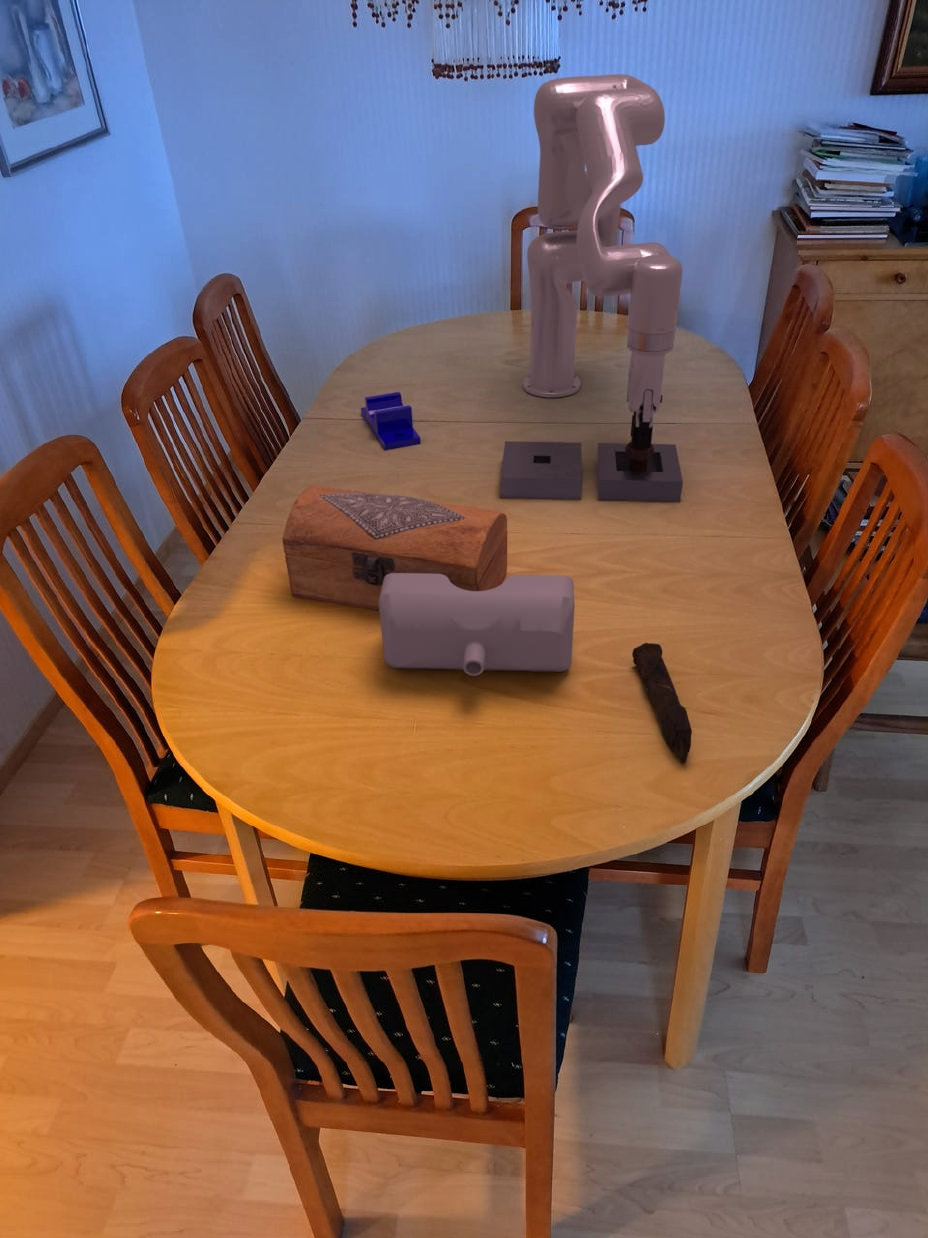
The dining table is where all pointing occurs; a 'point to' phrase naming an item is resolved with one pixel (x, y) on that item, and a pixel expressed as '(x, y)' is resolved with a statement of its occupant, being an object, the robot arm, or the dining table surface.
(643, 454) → the bolt
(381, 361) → the dining table surface
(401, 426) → the mounting bracket
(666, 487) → the wide-bore block
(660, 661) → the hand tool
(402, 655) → the tank
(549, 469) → the narrow-bore block
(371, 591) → the wooden box
